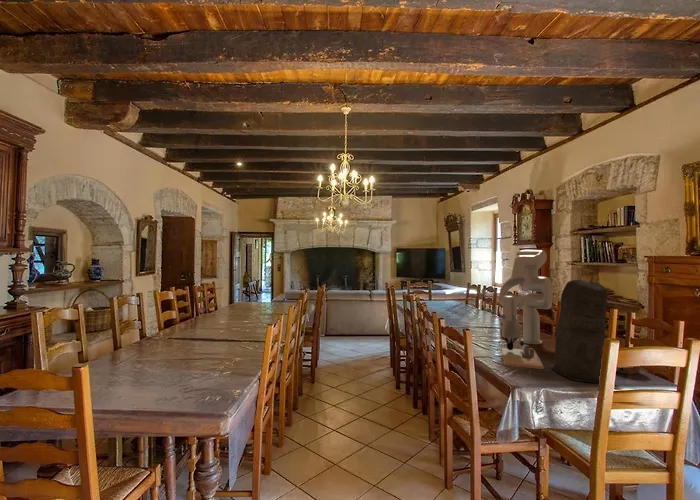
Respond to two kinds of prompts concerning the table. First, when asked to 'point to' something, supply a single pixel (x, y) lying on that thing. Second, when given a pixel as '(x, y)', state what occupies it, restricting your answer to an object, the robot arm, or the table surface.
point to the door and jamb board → (521, 358)
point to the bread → (629, 370)
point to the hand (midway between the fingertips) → (510, 349)
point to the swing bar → (522, 345)
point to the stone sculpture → (581, 331)
